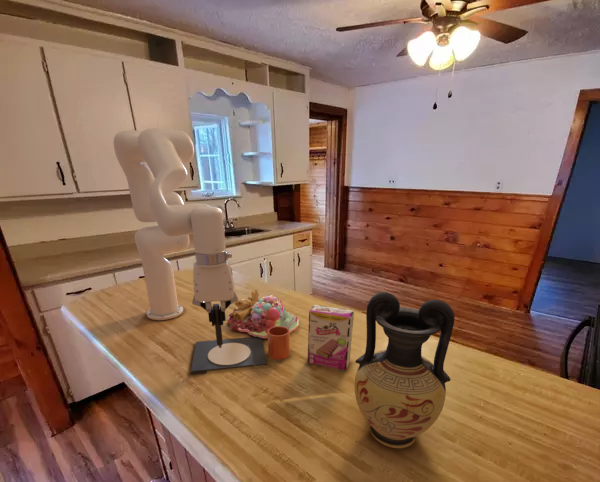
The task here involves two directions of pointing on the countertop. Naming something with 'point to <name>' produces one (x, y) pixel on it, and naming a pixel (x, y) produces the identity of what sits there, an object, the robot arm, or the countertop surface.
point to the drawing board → (228, 354)
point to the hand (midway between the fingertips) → (217, 323)
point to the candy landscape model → (260, 315)
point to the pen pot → (278, 342)
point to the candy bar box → (330, 336)
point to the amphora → (403, 369)
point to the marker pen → (217, 325)
